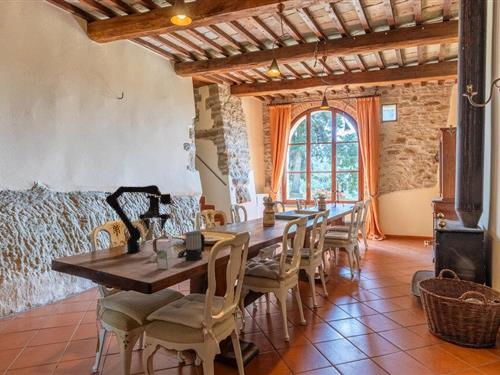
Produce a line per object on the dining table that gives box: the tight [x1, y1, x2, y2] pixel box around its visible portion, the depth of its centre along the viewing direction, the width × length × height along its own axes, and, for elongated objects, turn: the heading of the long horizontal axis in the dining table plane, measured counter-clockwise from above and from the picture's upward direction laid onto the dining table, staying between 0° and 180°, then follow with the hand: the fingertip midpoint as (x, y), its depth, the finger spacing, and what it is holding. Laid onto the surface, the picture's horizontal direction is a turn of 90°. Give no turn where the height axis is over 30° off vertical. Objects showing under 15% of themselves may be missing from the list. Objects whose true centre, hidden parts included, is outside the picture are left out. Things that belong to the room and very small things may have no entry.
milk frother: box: [177, 230, 206, 262], centre depth 196 cm, size 14×16×15 cm
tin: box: [152, 235, 169, 253], centre depth 200 cm, size 15×3×8 cm, turn 166°
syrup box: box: [156, 238, 173, 270], centre depth 175 cm, size 6×6×14 cm
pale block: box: [149, 246, 175, 263], centre depth 200 cm, size 10×20×4 cm, turn 4°
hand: (155, 230), depth 218 cm, fingers open, 9 cm apart
